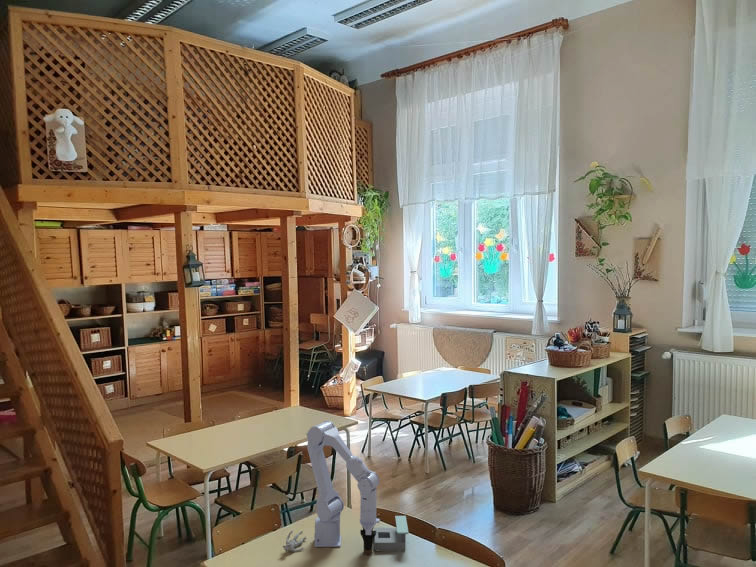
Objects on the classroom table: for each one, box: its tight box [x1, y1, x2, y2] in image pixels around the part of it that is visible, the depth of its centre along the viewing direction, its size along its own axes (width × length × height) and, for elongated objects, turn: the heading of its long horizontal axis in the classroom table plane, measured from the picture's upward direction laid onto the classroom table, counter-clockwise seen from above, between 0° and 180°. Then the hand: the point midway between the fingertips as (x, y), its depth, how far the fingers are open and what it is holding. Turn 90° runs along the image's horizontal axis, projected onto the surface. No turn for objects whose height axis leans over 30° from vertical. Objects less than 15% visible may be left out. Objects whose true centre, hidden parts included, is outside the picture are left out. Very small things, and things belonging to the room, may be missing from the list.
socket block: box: [373, 515, 409, 552], centre depth 204 cm, size 12×13×7 cm
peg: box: [363, 528, 374, 556], centre depth 196 cm, size 3×3×9 cm
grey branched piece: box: [282, 529, 307, 553], centre depth 200 cm, size 8×5×12 cm
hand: (368, 545), depth 196 cm, fingers open, 6 cm apart
